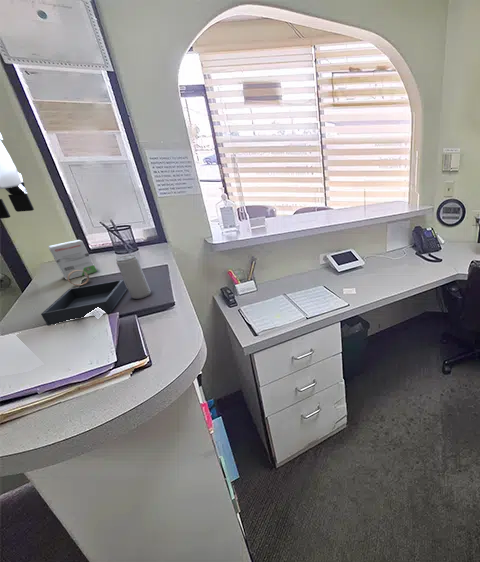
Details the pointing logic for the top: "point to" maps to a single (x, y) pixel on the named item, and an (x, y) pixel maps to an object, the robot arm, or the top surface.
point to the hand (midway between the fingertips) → (13, 214)
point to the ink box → (72, 258)
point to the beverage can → (133, 276)
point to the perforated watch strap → (84, 274)
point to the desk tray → (85, 301)
